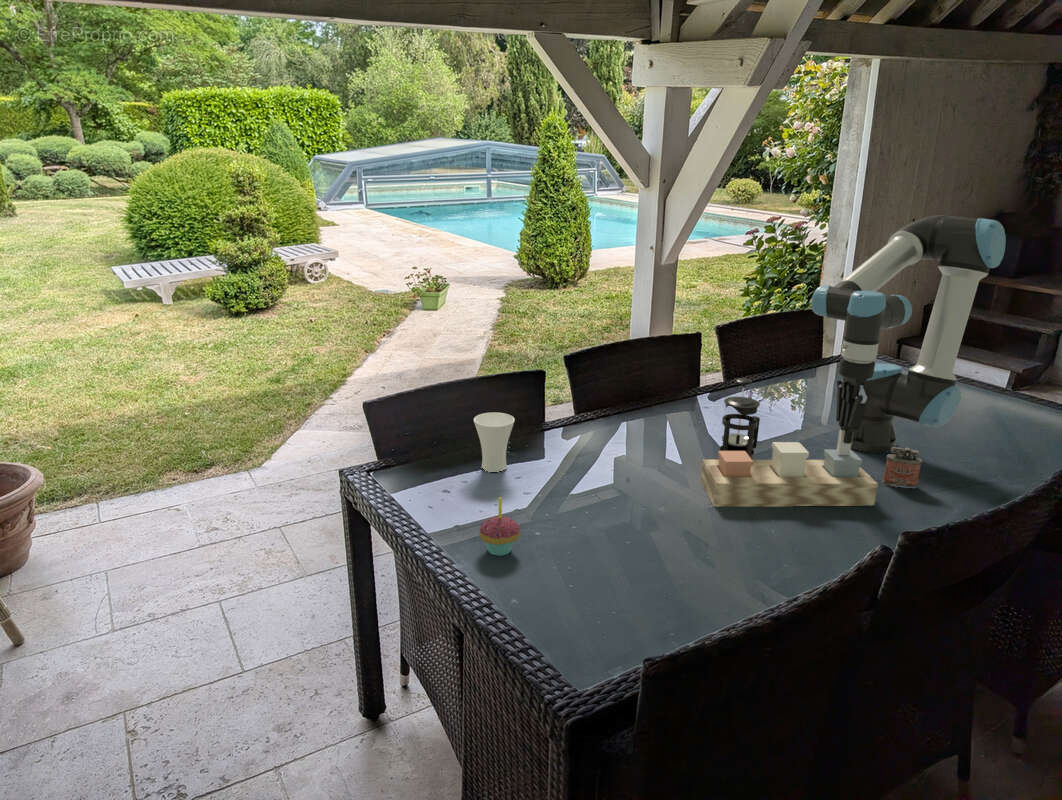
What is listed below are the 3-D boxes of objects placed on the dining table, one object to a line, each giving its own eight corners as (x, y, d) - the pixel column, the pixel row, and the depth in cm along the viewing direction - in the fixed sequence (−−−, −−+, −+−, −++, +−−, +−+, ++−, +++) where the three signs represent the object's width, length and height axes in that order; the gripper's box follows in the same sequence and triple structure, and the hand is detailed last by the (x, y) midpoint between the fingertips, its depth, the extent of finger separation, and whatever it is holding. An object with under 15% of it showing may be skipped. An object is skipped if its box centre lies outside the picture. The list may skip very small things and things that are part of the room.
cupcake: (479, 540, 164) (478, 489, 160) (519, 539, 164) (519, 488, 160) (480, 561, 156) (479, 508, 152) (522, 560, 156) (522, 507, 152)
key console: (849, 481, 195) (852, 459, 193) (873, 506, 182) (877, 483, 180) (700, 481, 194) (702, 459, 192) (714, 506, 180) (716, 483, 178)
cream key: (795, 466, 189) (799, 442, 187) (805, 477, 183) (809, 452, 181) (769, 466, 189) (772, 442, 187) (778, 477, 182) (781, 452, 180)
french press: (732, 471, 200) (742, 387, 192) (708, 458, 207) (716, 377, 200) (765, 463, 205) (775, 381, 198) (740, 451, 213) (749, 371, 206)
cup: (521, 464, 202) (521, 416, 198) (503, 479, 193) (503, 429, 189) (485, 457, 206) (485, 409, 202) (466, 471, 197) (465, 422, 193)
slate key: (846, 473, 190) (850, 449, 188) (858, 484, 184) (862, 460, 182) (820, 473, 190) (824, 449, 188) (831, 484, 183) (834, 460, 181)
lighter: (916, 485, 194) (923, 448, 190) (917, 490, 190) (925, 453, 187) (881, 480, 196) (887, 443, 193) (882, 485, 193) (889, 448, 190)
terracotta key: (742, 474, 189) (745, 450, 187) (750, 486, 183) (753, 461, 181) (715, 474, 189) (718, 450, 187) (722, 486, 183) (725, 461, 181)
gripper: (830, 351, 183) (817, 443, 191) (854, 366, 171) (838, 464, 178) (861, 351, 183) (846, 443, 191) (887, 367, 171) (870, 464, 178)
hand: (842, 453), depth 184 cm, fingers closed
